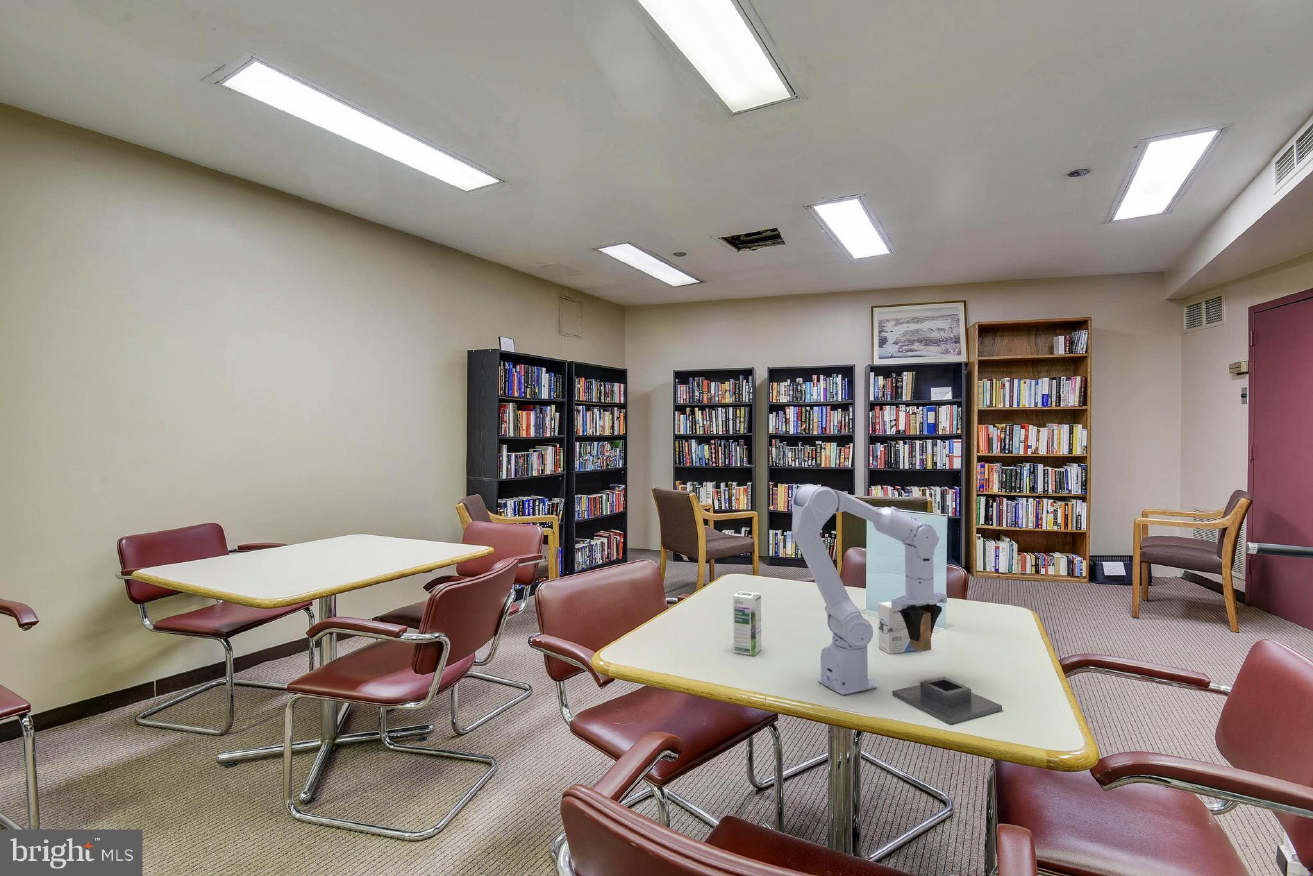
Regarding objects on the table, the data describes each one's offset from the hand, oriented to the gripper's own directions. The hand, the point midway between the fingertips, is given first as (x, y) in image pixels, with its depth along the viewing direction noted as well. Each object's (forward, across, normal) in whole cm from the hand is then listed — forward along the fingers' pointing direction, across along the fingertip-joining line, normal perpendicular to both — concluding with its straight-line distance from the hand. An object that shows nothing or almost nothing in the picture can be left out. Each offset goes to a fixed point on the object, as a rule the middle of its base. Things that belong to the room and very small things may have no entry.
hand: (920, 638), depth 131 cm
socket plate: (+9, -5, -11) cm, 15 cm away
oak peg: (+2, 0, 0) cm, 2 cm away
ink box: (+9, +10, +16) cm, 21 cm away
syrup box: (+9, -25, +31) cm, 41 cm away
